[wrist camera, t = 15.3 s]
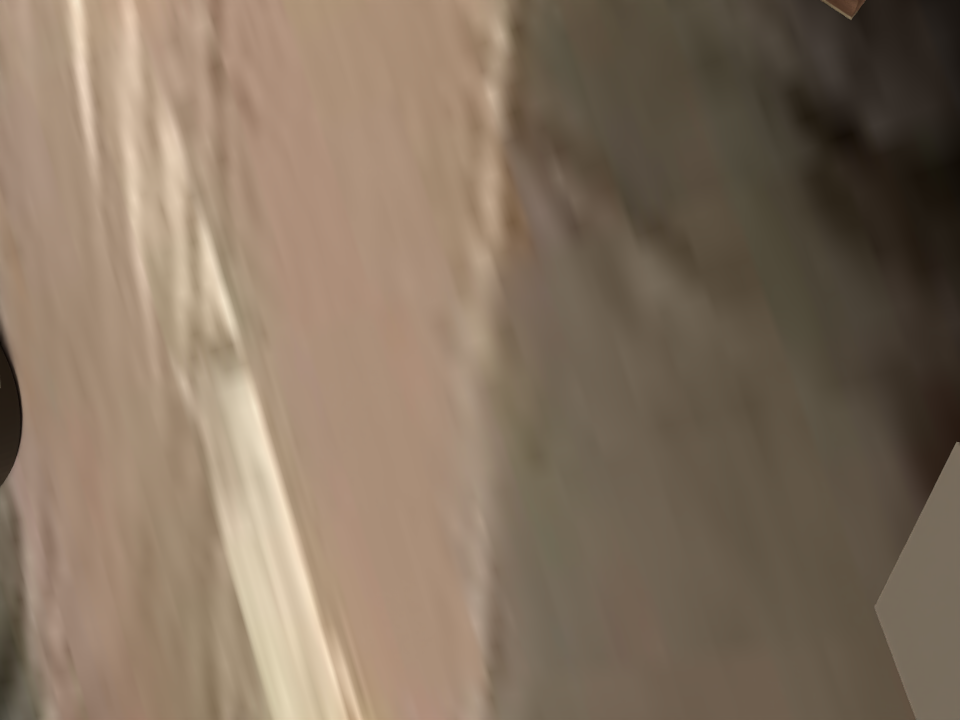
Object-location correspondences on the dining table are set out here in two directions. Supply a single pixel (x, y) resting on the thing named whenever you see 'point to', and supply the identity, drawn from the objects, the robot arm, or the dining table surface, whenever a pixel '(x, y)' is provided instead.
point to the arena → (845, 6)
